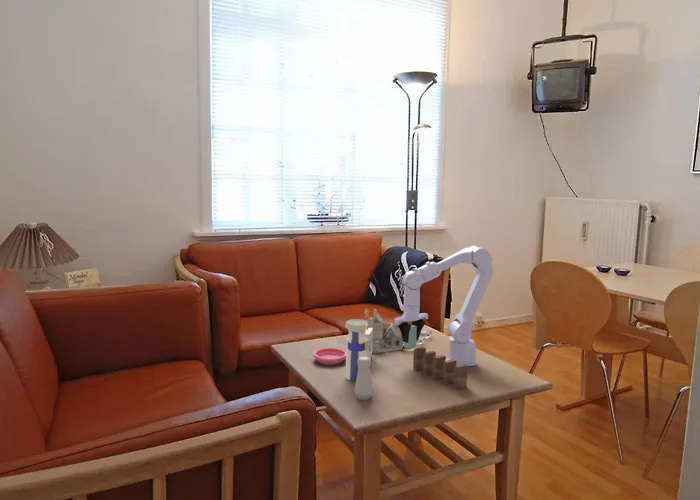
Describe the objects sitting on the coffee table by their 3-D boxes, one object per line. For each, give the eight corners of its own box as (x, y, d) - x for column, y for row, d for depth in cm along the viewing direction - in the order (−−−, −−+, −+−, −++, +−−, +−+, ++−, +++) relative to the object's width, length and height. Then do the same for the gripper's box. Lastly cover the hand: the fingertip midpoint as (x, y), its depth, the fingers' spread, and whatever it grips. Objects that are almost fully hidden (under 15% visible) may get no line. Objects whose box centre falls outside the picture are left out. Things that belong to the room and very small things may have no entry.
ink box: (359, 356, 204) (359, 326, 203) (372, 357, 203) (373, 327, 202) (355, 363, 196) (355, 332, 194) (369, 365, 195) (369, 333, 193)
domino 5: (442, 383, 179) (443, 361, 178) (452, 380, 181) (453, 358, 180) (446, 384, 177) (447, 362, 176) (455, 381, 180) (456, 360, 179)
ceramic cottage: (358, 350, 211) (361, 313, 208) (372, 339, 226) (375, 305, 224) (395, 358, 205) (399, 320, 203) (407, 347, 220) (411, 311, 218)
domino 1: (404, 347, 194) (404, 327, 193) (413, 345, 197) (414, 325, 195) (407, 348, 193) (407, 328, 192) (416, 346, 195) (417, 326, 194)
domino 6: (453, 388, 175) (454, 365, 174) (463, 385, 177) (463, 363, 176) (457, 389, 173) (458, 367, 172) (466, 386, 176) (467, 364, 175)
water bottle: (371, 373, 187) (372, 303, 183) (366, 382, 179) (367, 309, 175) (348, 370, 189) (348, 302, 185) (342, 380, 181) (342, 308, 177)
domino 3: (422, 373, 187) (423, 352, 186) (431, 371, 189) (432, 350, 188) (425, 375, 186) (426, 354, 185) (435, 372, 188) (435, 351, 187)
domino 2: (413, 369, 191) (413, 349, 190) (422, 366, 193) (422, 346, 192) (416, 370, 190) (416, 350, 189) (425, 368, 192) (425, 348, 191)
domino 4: (432, 378, 183) (433, 357, 182) (441, 375, 185) (442, 354, 184) (435, 379, 182) (436, 358, 180) (445, 377, 184) (445, 356, 183)
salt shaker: (353, 394, 169) (354, 354, 167) (371, 393, 170) (372, 354, 168) (355, 401, 164) (356, 361, 162) (374, 401, 164) (374, 360, 162)
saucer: (351, 364, 196) (351, 356, 195) (319, 368, 191) (319, 360, 191) (340, 353, 207) (340, 345, 207) (309, 357, 203) (309, 349, 202)
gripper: (419, 299, 200) (418, 334, 202) (389, 304, 192) (388, 341, 194) (432, 303, 194) (431, 339, 196) (401, 309, 186) (400, 346, 188)
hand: (410, 340), depth 194 cm, fingers closed on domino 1, 4 cm apart
